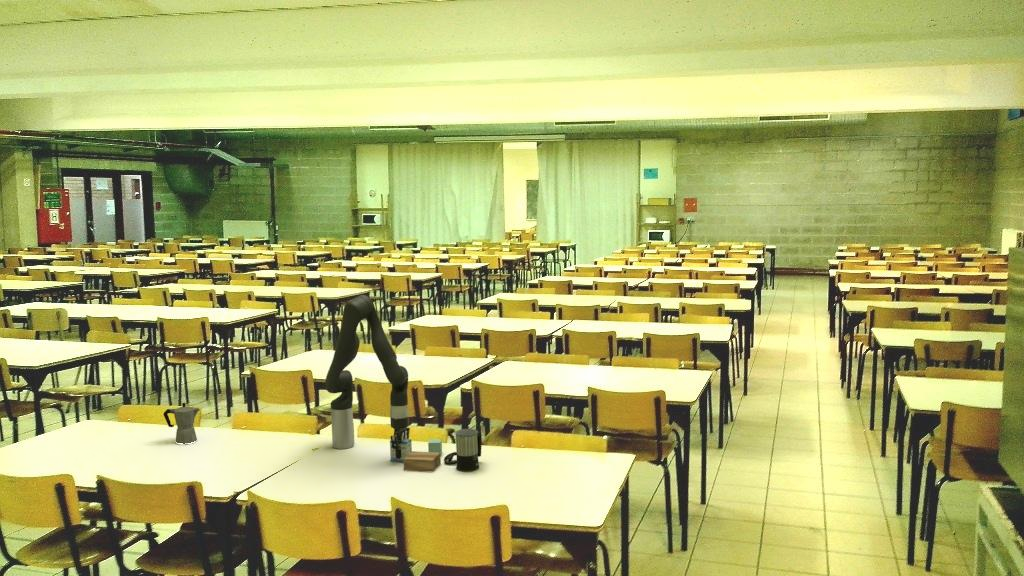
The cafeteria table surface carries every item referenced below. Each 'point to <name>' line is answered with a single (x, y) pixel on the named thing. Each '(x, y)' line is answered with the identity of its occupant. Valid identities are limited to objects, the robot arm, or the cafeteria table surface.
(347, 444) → the robot arm
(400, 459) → the medicine box
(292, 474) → the cafeteria table surface
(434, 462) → the walnut block
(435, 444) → the teal block
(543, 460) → the cafeteria table surface
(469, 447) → the milk frother
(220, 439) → the cafeteria table surface
